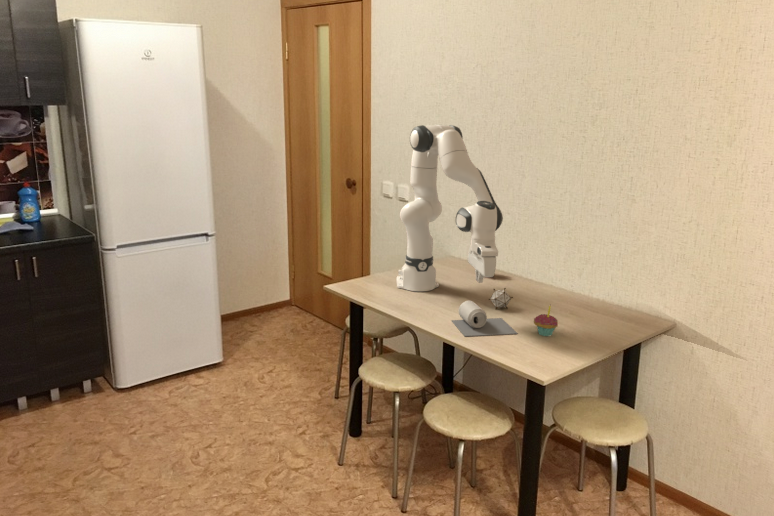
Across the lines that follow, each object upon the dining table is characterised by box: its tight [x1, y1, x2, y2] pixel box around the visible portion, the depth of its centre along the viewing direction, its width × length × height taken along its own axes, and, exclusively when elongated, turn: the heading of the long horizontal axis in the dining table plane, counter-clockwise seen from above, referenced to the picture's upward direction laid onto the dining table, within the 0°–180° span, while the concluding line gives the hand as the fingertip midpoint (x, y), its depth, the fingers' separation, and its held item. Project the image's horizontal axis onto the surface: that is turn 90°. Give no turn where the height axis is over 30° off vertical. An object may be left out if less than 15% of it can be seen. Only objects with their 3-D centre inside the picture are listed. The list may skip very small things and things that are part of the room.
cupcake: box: [533, 304, 559, 337], centre depth 235 cm, size 9×8×12 cm
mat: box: [450, 317, 519, 338], centre depth 241 cm, size 16×20×1 cm
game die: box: [488, 287, 514, 310], centre depth 262 cm, size 9×8×10 cm
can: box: [458, 300, 488, 328], centre depth 243 cm, size 8×8×12 cm
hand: (479, 281), depth 244 cm, fingers closed
